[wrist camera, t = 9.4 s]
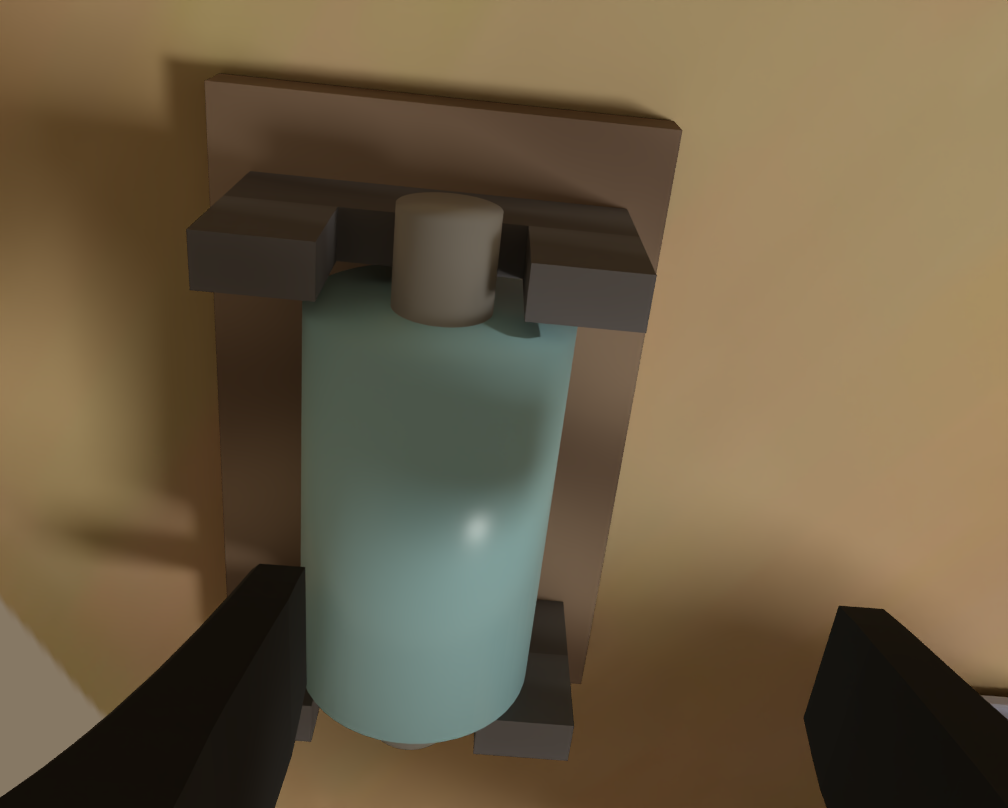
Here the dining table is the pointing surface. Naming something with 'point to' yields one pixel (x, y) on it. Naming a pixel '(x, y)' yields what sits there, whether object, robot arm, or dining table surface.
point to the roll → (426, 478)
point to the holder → (369, 241)
